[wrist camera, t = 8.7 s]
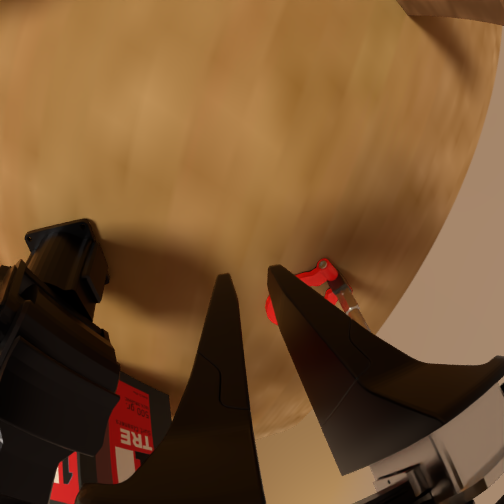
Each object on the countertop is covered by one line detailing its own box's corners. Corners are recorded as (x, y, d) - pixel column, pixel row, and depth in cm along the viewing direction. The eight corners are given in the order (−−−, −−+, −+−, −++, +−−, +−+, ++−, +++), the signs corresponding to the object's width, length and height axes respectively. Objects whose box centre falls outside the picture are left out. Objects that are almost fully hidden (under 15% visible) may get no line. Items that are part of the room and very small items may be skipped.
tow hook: (290, 327, 35) (352, 287, 32) (322, 421, 25) (402, 380, 22) (248, 300, 30) (321, 249, 27) (279, 417, 20) (384, 364, 17)
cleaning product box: (50, 367, 29) (45, 502, 14) (84, 349, 28) (84, 512, 13) (130, 407, 39) (143, 515, 24) (168, 395, 39) (189, 515, 23)
